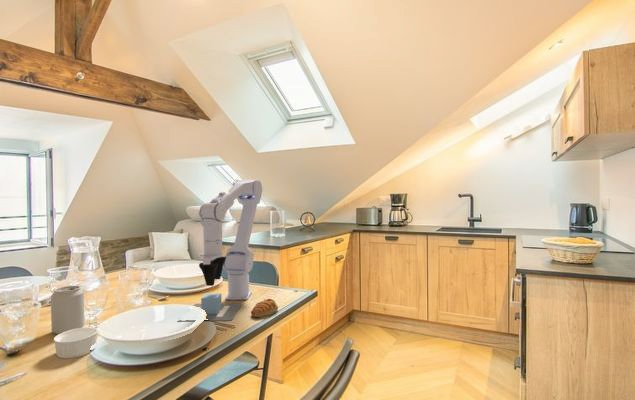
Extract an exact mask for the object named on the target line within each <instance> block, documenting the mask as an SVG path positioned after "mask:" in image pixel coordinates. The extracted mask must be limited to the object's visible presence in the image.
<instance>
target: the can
mask: <svg viewBox="0 0 635 400" xmlns="http://www.w3.org/2000/svg"><path fill="white" fill-rule="evenodd" d="M81 288H82V287H81V286H80V285H68V286H67V285H66V286H61V287H58V288H55V289H53V293H52V294H51V295H50V319H51V320H50V321H51V324H50V325H51V332H52V333H55V335H56V336H57V335H59V334H61V333H63V332H66V331H69V330H73V329H77V328H84V327H85V294H84V293H85V292H84V291H83V290H82V289H81Z"/></svg>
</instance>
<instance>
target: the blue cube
mask: <svg viewBox="0 0 635 400" xmlns="http://www.w3.org/2000/svg"><path fill="white" fill-rule="evenodd" d="M200 300H201V302H200V304H201V309H203V310H205V312H206V314H218V313H219V311H220V310H221V309H222V304H221V303H222V293H220V292H219V293H214V292H213V293H211V292H210V293H205V294H203V296H202V297H201V299H200Z"/></svg>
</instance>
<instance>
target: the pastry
mask: <svg viewBox="0 0 635 400" xmlns="http://www.w3.org/2000/svg"><path fill="white" fill-rule="evenodd" d="M251 309H252V310H251V311H250V314H251V317H255V318H256V317H257V318H264V317H267V316H270V315H273V314H274V313H277V311H278V310H279V306H278V304H277V302H276V301H275V300H274V299H272V298H267V299H263V300H261V301H260V302H257V303H256V304H255V305H254V306H253V308H251Z"/></svg>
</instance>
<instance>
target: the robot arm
mask: <svg viewBox="0 0 635 400" xmlns="http://www.w3.org/2000/svg"><path fill="white" fill-rule="evenodd" d="M262 185H263V184H262V182H261V181H260V179H244V180H243V179H235V181H234V182H232V187H231V188H229V190H228V191H226V192H225V191H220V192H219V193H218V195H217V196H216V197H214V198H213V199H212V200H210V201H209V202H205V203H203V204H202V205H200V208H199V211H198V216H199V218H200V221H201V223H200V224H201V226H202V227H203V228H202V229H203V231H202V232H203V233H202V234H203V237H202V238H203V253H199V257H200V258H202V257H203V258H202V262H200V263H198V267H199V268H200V270H201V272H202V274H203V275H202V276H203V278H204V282H205V285H206V286H208V287H209V286H211V287H212V286H214V285H215V281H216V280H221V278H222V273H223V269H224V271H225V273H226V274H227V286H228V287H227V288H228V289H227V290H228V291H227V293H228V294H227V295H226V296H225V297H224V300H225V301H227V300H230V301H235V300H239V301H241V300H243V301H244V300H248V299H249V298H250V296H251V295H252V293H253V291H252V290H250V275H249V273H250V272H251V270H252V269H253V266H254V254H255V253H254V252H253V250H252V249H250V247H249V243H250V238H251V234H252V231H253V230H252V229H253V227H254V221H255V216H256V213H257V207H258V204H260V203H261V199H262V195H263V194H262V193H263V186H262ZM235 200H237V202H238V203H239V204H241V205H242V210H241V213H240V218H239V222H238V228H237V231H236V236H235V240H234V244H233V245H232V246H229V248H227V249H226V253H225V255H224V252H223V228H222V227H223V220H225V217H226V214H227V213H228V211H229V209H230V208H232V207H233V206H234V203H235Z"/></svg>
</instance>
